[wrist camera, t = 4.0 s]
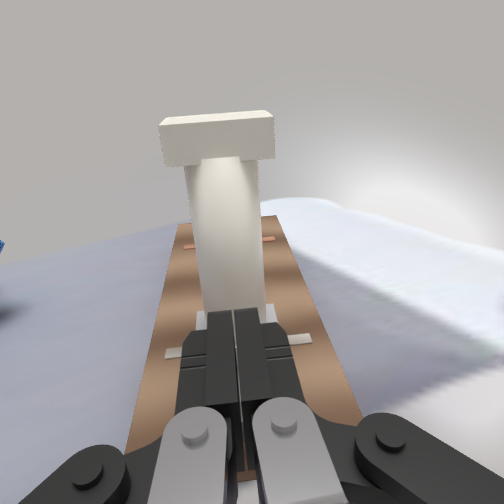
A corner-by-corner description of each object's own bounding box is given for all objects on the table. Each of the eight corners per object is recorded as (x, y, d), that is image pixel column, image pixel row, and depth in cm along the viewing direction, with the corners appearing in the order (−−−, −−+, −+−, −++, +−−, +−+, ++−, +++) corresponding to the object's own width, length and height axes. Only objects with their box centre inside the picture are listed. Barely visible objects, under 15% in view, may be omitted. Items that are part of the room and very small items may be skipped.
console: (363, 465, 17) (369, 406, 15) (135, 494, 16) (116, 436, 15) (276, 236, 40) (275, 204, 39) (181, 245, 40) (176, 213, 38)
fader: (283, 362, 19) (275, 117, 14) (197, 371, 19) (157, 126, 14) (273, 320, 23) (263, 109, 18) (199, 328, 22) (167, 116, 17)
